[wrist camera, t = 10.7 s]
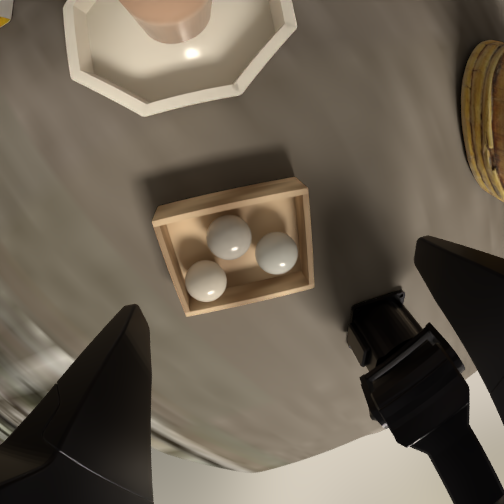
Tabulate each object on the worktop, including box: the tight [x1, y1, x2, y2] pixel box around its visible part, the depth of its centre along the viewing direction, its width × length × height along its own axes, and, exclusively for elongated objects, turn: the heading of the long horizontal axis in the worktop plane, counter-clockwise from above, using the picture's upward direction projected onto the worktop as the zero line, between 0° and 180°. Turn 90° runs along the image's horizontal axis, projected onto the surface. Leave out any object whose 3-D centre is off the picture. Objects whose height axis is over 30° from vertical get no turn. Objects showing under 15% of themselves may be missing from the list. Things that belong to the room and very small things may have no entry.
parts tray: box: [152, 177, 314, 317], centre depth 21 cm, size 10×8×3 cm
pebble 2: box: [206, 215, 252, 260], centre depth 19 cm, size 3×3×3 cm
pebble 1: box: [185, 260, 227, 302], centre depth 21 cm, size 3×3×3 cm
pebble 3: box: [255, 232, 298, 275], centre depth 20 cm, size 3×3×3 cm
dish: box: [63, 0, 297, 117], centre depth 12 cm, size 13×13×3 cm
